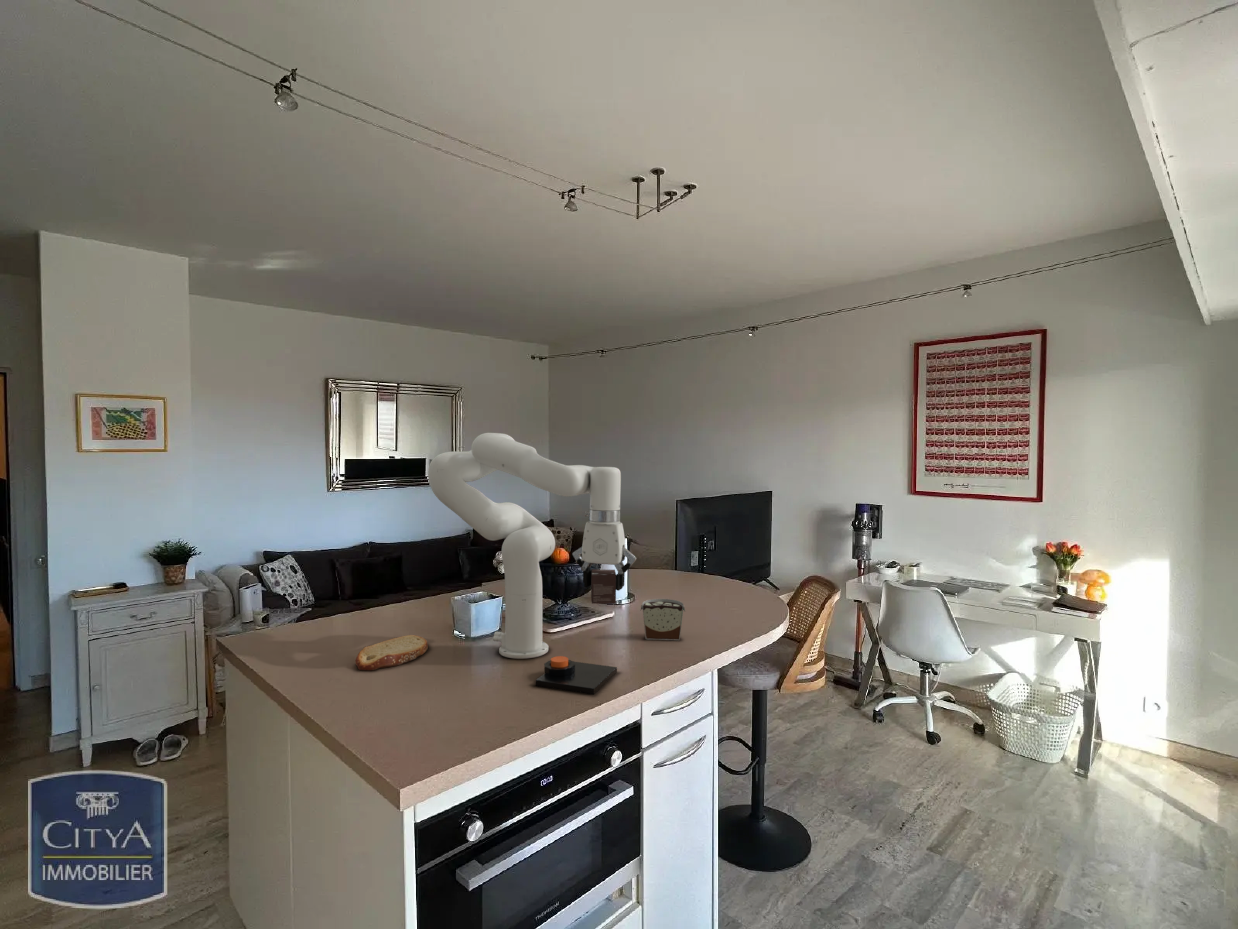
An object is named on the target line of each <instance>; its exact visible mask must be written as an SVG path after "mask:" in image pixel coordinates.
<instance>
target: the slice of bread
mask: <svg viewBox="0 0 1238 929" xmlns="http://www.w3.org/2000/svg"><path fill="white" fill-rule="evenodd" d="M428 649H429V644H428V641H427V639H426V638H424V637H423V636H419V635H413V634H408V635H401V636H398V637H394V638H389V639H386V640H383V641H381V642H377V643H374V644H371V645H367V646H365V647H363V648H362V649H361V650H360V651H359V652H358V654H357V656H356V658H355V661H354V662H355V665H356V666H357V669H358V671H359V670H360V671H376V670H379V669H384V668H391V667H397V666H400V665H402V664H407V663H409V662H411V661H413V660H416V659H417V658H418V657H420V656H422V655H424V654H425V653H426V652H427V650H428Z"/></svg>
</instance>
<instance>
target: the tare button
mask: <svg viewBox="0 0 1238 929" xmlns="http://www.w3.org/2000/svg"><path fill="white" fill-rule="evenodd" d="M550 660H551V666H552V667H557V668H560V667H566V666H568V660H569V658H568V657H566V656H564V655H557V656H554V657H551V658H550Z"/></svg>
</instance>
